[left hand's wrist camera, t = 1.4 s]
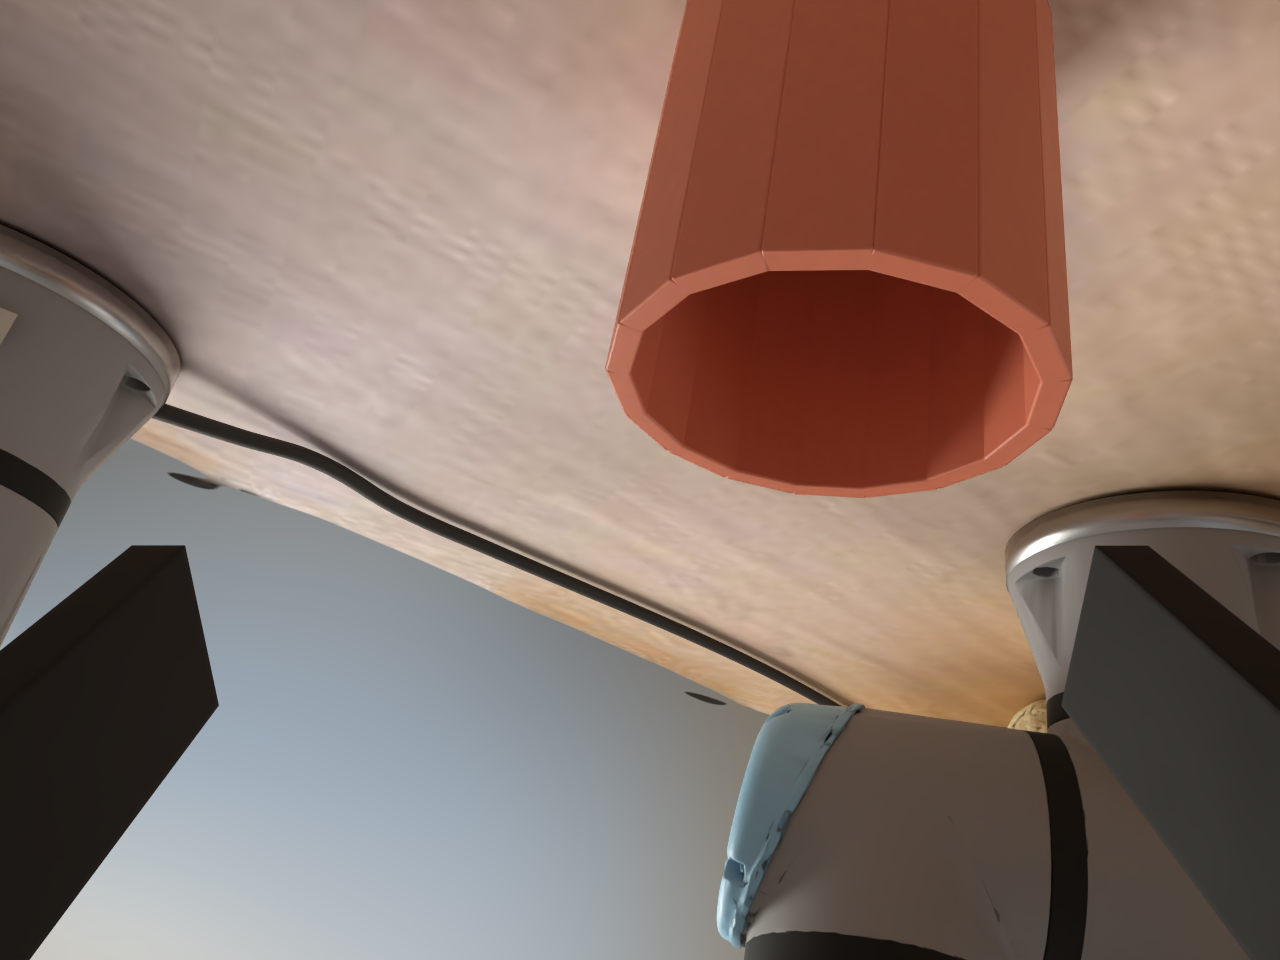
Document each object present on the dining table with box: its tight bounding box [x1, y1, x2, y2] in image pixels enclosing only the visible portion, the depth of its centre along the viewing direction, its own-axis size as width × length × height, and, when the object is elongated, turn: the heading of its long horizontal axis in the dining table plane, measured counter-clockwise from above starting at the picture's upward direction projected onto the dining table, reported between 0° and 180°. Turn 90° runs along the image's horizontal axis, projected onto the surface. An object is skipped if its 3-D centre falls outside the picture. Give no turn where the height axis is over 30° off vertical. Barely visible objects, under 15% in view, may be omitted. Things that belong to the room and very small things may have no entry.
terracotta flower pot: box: [606, 0, 1072, 498], centre depth 21 cm, size 9×9×11 cm
